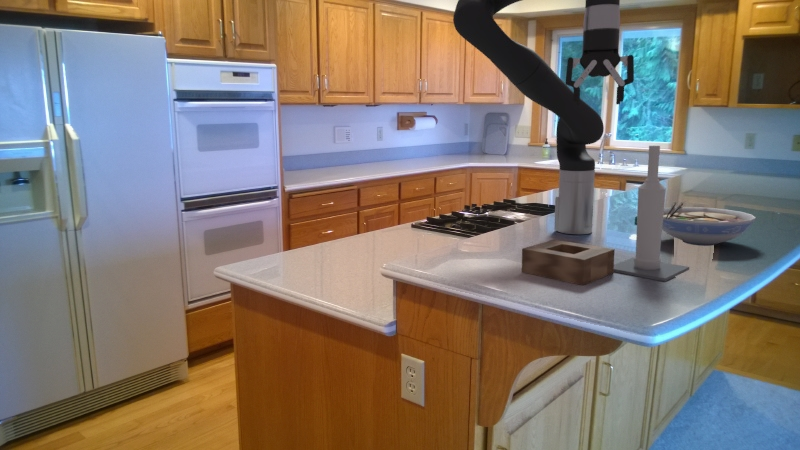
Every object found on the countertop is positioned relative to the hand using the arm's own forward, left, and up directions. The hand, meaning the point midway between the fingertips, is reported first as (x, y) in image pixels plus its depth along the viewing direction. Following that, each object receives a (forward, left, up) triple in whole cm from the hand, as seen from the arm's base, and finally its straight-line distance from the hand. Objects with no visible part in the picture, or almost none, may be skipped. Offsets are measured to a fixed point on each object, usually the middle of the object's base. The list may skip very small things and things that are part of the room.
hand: (597, 104), depth 130 cm
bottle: (+16, -6, -34) cm, 38 cm away
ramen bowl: (+14, +28, -34) cm, 46 cm away
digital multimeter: (-7, +50, -35) cm, 61 cm away
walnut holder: (+5, -19, -34) cm, 39 cm away
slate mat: (+16, -6, -34) cm, 38 cm away
